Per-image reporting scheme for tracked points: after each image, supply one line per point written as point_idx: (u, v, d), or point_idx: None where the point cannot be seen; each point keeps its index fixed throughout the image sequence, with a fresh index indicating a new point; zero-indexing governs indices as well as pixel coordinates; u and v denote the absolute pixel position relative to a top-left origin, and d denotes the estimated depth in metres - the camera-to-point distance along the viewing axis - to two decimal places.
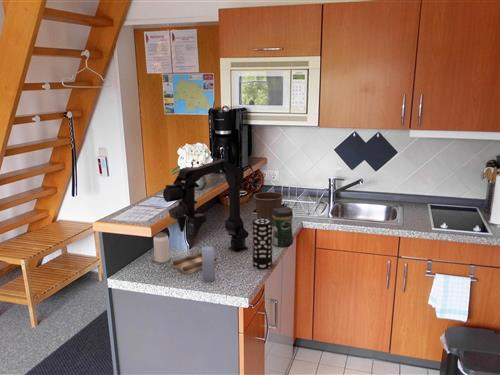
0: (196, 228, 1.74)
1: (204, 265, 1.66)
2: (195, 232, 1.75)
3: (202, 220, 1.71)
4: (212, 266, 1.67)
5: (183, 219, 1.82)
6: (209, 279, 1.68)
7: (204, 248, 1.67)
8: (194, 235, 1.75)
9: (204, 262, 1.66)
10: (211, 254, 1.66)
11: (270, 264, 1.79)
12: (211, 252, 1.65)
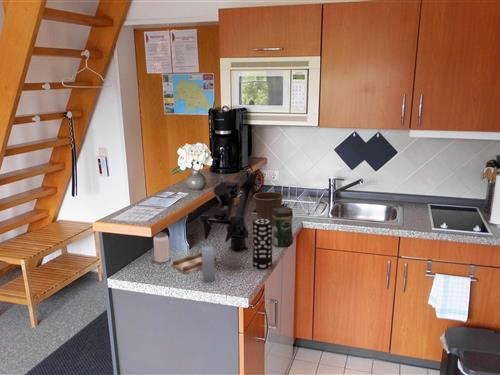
0: (231, 233, 1.74)
1: (204, 265, 1.66)
2: (229, 237, 1.73)
3: (242, 225, 1.75)
4: (212, 266, 1.67)
5: (209, 229, 1.79)
6: (209, 279, 1.68)
7: (204, 248, 1.67)
8: (227, 239, 1.73)
9: (204, 262, 1.66)
10: (211, 254, 1.66)
11: (270, 264, 1.79)
12: (211, 252, 1.65)
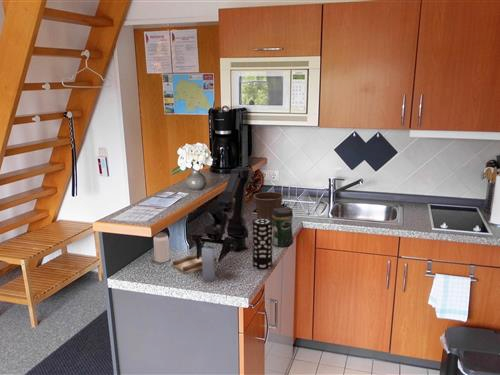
0: (224, 253, 1.68)
1: (204, 265, 1.66)
2: (222, 257, 1.67)
3: (235, 245, 1.69)
4: (212, 266, 1.67)
5: (201, 248, 1.73)
6: (209, 279, 1.68)
7: (204, 248, 1.67)
8: (219, 260, 1.67)
9: (204, 262, 1.66)
10: (211, 254, 1.66)
11: (270, 264, 1.79)
12: (211, 252, 1.65)
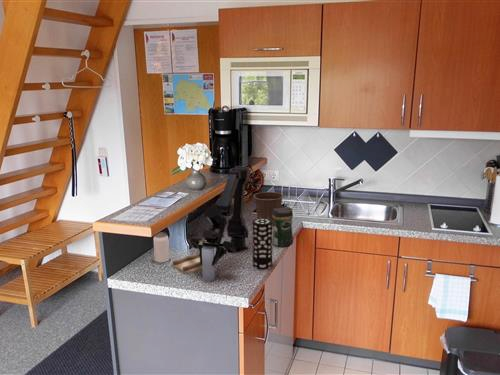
0: (218, 256, 1.68)
1: (204, 265, 1.66)
2: (216, 260, 1.67)
3: (234, 249, 1.68)
4: (212, 266, 1.67)
5: None
6: (209, 279, 1.67)
7: (204, 248, 1.67)
8: (214, 263, 1.66)
9: (204, 262, 1.66)
10: (211, 254, 1.66)
11: (270, 264, 1.79)
12: (211, 252, 1.65)
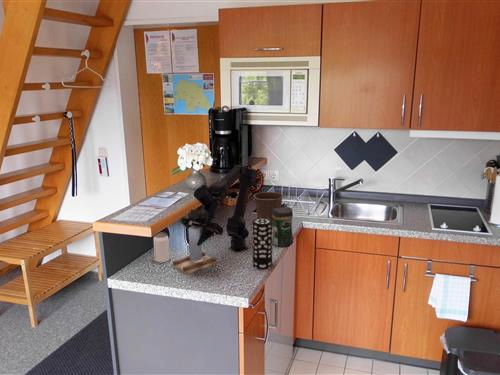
0: (204, 237, 1.70)
1: (190, 244, 1.70)
2: (201, 241, 1.69)
3: (220, 231, 1.69)
4: (198, 246, 1.70)
5: None
6: (195, 259, 1.70)
7: (191, 228, 1.70)
8: (199, 243, 1.69)
9: (190, 241, 1.69)
10: (196, 234, 1.68)
11: (270, 264, 1.79)
12: (196, 232, 1.68)
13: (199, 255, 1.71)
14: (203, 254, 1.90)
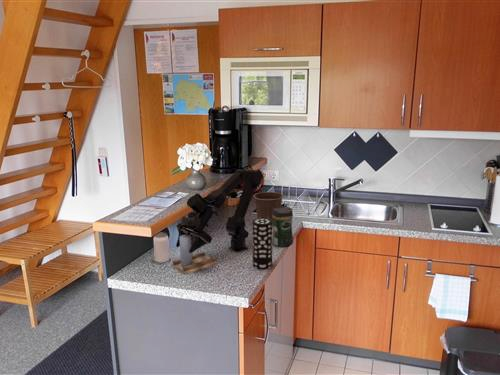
0: (196, 245, 1.75)
1: (180, 251, 1.78)
2: (193, 248, 1.74)
3: (208, 239, 1.74)
4: (187, 254, 1.77)
5: None
6: (184, 265, 1.78)
7: (182, 236, 1.78)
8: (190, 250, 1.74)
9: (180, 249, 1.77)
10: (186, 242, 1.75)
11: (270, 264, 1.79)
12: (186, 240, 1.75)
13: (188, 262, 1.78)
14: (203, 254, 1.90)
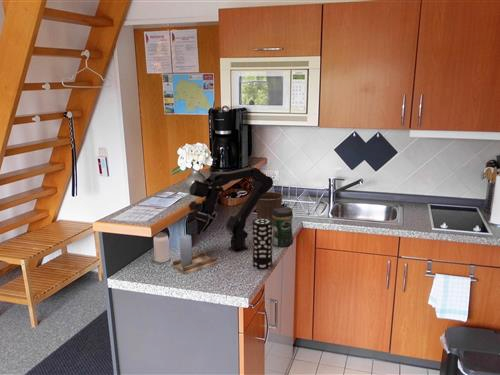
0: (200, 226, 1.83)
1: (180, 251, 1.77)
2: (199, 229, 1.83)
3: (202, 217, 1.79)
4: (187, 254, 1.77)
5: (208, 222, 1.93)
6: (184, 265, 1.78)
7: (182, 236, 1.78)
8: (198, 232, 1.84)
9: (180, 249, 1.77)
10: (186, 242, 1.75)
11: (270, 264, 1.79)
12: (186, 240, 1.75)
13: (189, 263, 1.78)
14: (203, 254, 1.90)
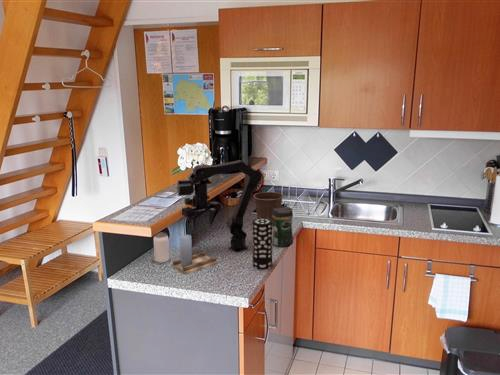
0: (191, 221, 1.87)
1: (180, 251, 1.78)
2: (191, 224, 1.88)
3: (184, 214, 1.84)
4: (187, 254, 1.77)
5: (211, 214, 1.93)
6: (184, 265, 1.78)
7: (183, 236, 1.78)
8: (192, 227, 1.89)
9: (180, 249, 1.77)
10: (186, 242, 1.75)
11: (270, 264, 1.79)
12: (186, 240, 1.75)
13: (189, 262, 1.78)
14: (203, 254, 1.90)
